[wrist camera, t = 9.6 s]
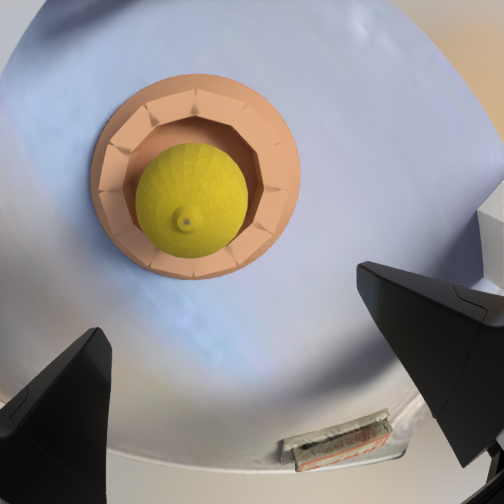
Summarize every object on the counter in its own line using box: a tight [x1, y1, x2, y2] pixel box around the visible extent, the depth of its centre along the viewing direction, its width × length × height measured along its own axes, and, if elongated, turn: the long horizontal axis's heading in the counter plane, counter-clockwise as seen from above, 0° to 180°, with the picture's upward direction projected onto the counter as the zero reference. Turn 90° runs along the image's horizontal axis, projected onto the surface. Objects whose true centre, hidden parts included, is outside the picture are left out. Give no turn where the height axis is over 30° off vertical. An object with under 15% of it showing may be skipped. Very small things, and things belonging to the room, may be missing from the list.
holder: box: [91, 74, 300, 280], centre depth 17 cm, size 14×14×3 cm
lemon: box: [135, 143, 248, 259], centre depth 14 cm, size 6×6×8 cm
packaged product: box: [280, 408, 393, 472], centre depth 36 cm, size 18×5×10 cm
